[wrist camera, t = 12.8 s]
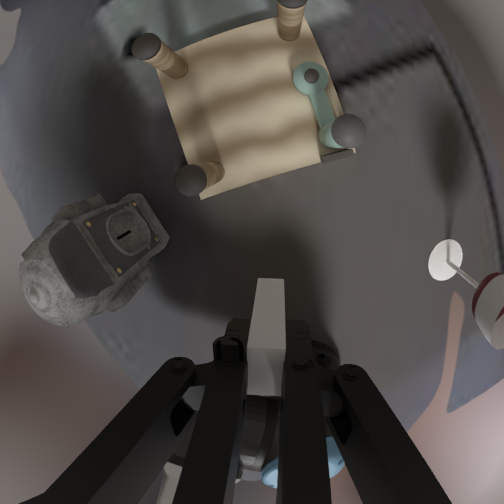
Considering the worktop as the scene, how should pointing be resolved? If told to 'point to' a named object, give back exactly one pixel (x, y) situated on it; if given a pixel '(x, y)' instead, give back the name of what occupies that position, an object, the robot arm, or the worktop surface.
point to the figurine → (91, 258)
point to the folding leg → (328, 111)
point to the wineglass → (485, 297)
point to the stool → (243, 102)
